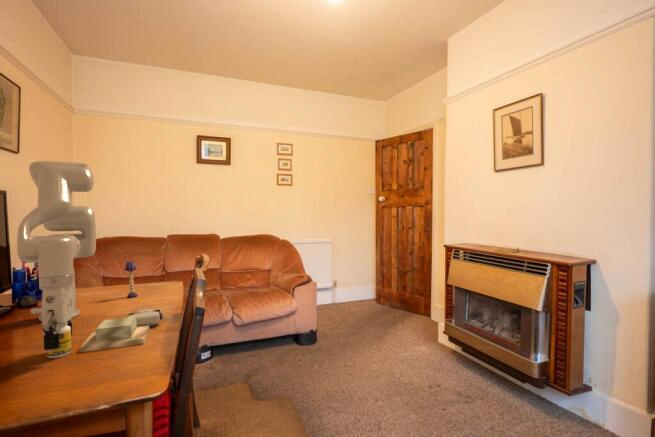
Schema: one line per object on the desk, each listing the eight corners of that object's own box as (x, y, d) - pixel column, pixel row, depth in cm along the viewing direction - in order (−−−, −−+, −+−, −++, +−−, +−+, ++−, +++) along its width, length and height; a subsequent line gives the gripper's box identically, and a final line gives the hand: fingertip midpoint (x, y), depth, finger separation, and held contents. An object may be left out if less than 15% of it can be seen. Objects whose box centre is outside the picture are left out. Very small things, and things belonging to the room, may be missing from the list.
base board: (80, 352, 96) (79, 333, 96) (93, 336, 108) (92, 319, 108) (143, 343, 102) (143, 325, 102) (149, 329, 114) (149, 313, 114)
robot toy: (126, 323, 124) (122, 333, 111) (125, 310, 124) (122, 319, 111) (163, 317, 130) (164, 326, 116) (162, 305, 130) (163, 313, 117)
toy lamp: (125, 298, 156) (124, 262, 155) (126, 296, 160) (125, 261, 159) (137, 297, 158) (136, 261, 158) (137, 295, 162) (136, 260, 162)
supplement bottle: (51, 360, 91) (50, 324, 91) (43, 356, 94) (42, 321, 94) (75, 353, 96) (73, 318, 95) (66, 349, 98) (65, 315, 98)
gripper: (61, 286, 87) (63, 352, 88) (82, 275, 104) (84, 330, 104) (25, 289, 85) (27, 356, 85) (53, 277, 101) (54, 334, 101)
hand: (59, 342), depth 94 cm, fingers open, 9 cm apart
